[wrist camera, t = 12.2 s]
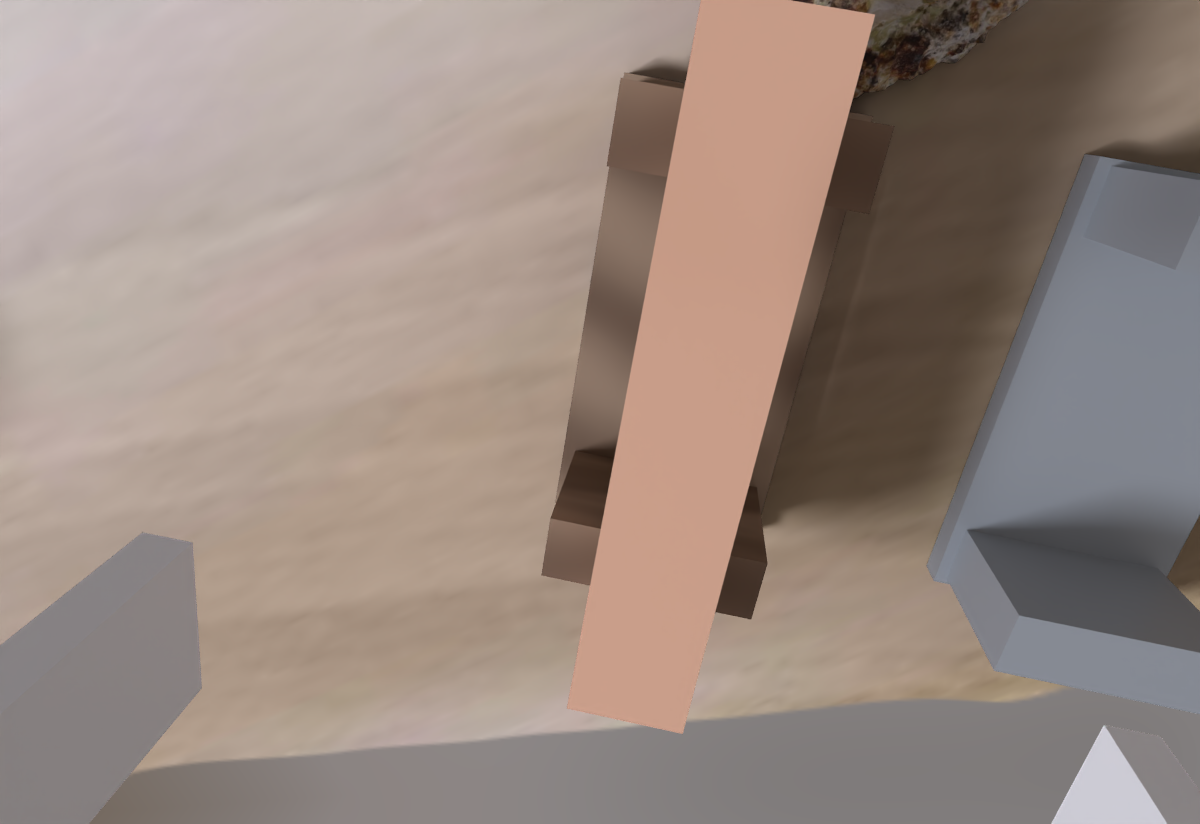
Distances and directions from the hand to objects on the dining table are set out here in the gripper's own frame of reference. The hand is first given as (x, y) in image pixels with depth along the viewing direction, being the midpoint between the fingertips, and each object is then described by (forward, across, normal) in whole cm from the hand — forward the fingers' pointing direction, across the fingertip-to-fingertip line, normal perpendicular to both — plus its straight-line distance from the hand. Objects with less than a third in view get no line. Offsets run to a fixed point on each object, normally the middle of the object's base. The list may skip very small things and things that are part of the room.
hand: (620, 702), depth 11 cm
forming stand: (+23, +18, -1) cm, 29 cm away
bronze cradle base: (+23, +1, -1) cm, 23 cm away
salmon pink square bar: (+16, +1, 0) cm, 16 cm away
